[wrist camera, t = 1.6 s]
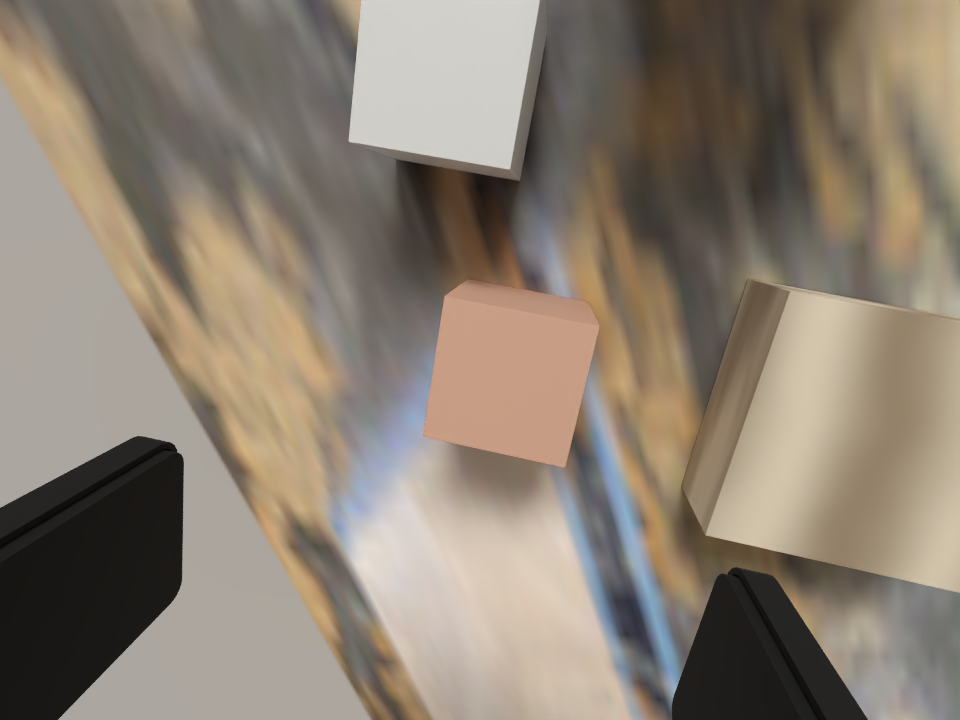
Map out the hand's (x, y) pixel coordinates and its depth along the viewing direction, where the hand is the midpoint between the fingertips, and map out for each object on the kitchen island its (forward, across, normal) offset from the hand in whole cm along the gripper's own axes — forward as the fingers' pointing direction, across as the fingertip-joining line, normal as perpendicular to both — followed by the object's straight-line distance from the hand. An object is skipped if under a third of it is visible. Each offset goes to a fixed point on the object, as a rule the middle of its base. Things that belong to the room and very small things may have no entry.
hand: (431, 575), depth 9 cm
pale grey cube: (+16, +3, -10) cm, 19 cm away
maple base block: (+16, -15, 0) cm, 21 cm away
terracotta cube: (+16, -1, 0) cm, 16 cm away
